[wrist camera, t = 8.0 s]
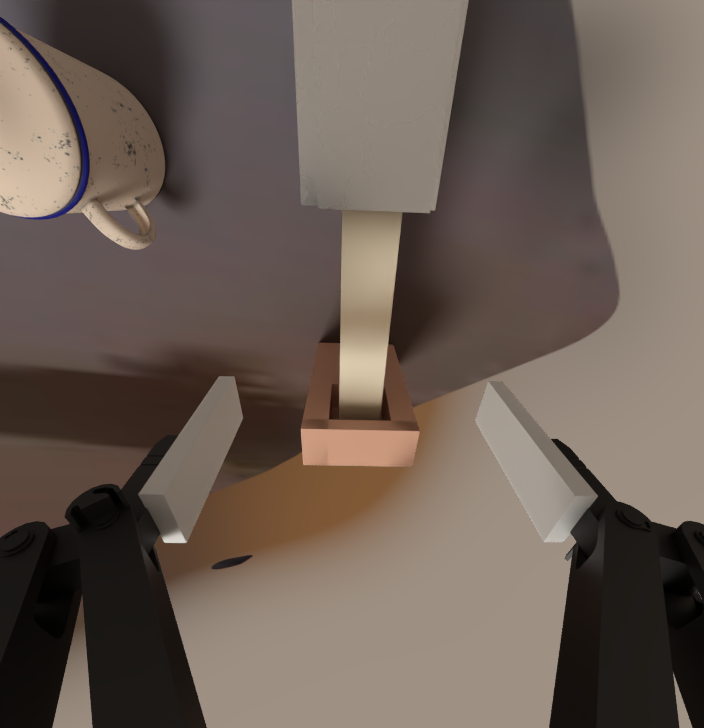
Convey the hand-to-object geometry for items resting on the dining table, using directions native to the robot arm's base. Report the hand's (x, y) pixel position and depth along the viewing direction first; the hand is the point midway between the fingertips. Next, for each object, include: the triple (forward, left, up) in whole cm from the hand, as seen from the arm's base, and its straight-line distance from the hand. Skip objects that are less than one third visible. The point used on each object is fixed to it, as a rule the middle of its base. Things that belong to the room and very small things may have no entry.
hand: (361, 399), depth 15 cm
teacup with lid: (-11, -19, -16) cm, 27 cm away
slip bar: (-3, 0, -7) cm, 8 cm away
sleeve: (-14, 0, -16) cm, 21 cm away
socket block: (+6, 0, -15) cm, 17 cm away
